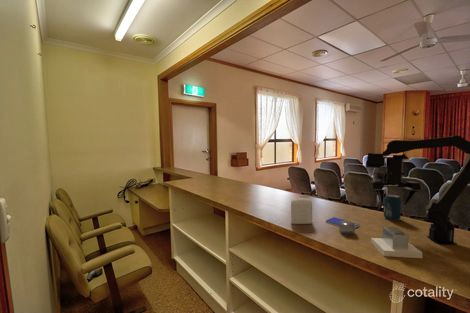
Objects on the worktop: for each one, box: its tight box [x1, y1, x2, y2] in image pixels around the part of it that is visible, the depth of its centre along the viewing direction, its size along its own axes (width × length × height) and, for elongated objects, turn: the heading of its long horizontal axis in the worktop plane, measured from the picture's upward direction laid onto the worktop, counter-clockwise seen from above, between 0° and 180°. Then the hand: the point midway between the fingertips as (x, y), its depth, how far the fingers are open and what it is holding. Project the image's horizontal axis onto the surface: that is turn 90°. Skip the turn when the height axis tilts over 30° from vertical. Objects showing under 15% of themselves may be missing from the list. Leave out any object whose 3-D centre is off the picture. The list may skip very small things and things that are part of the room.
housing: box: [382, 226, 410, 250], centre depth 81 cm, size 7×5×6 cm
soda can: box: [383, 193, 402, 222], centre depth 112 cm, size 7×7×12 cm
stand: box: [370, 237, 423, 259], centre depth 81 cm, size 12×10×2 cm
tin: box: [338, 220, 356, 236], centre depth 97 cm, size 6×6×4 cm
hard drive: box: [325, 216, 361, 229], centre depth 106 cm, size 2×8×12 cm
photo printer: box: [290, 197, 313, 225], centre depth 108 cm, size 10×4×12 cm, turn 90°
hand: (392, 204), depth 97 cm, fingers open, 9 cm apart
